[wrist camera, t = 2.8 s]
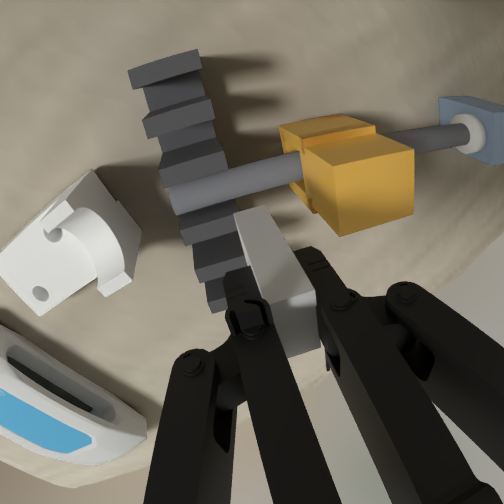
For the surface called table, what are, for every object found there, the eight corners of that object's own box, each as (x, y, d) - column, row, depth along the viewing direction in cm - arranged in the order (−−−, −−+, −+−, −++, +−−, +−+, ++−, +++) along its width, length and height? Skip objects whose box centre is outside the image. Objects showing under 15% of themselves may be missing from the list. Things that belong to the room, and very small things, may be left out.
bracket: (94, 165, 23) (65, 199, 16) (142, 229, 27) (132, 280, 20) (5, 244, 24) (-29, 291, 18) (49, 294, 28) (28, 347, 21)
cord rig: (204, 267, 30) (213, 322, 23) (142, 72, 20) (124, 70, 13) (466, 189, 31) (509, 217, 25) (463, 40, 21) (517, 46, 15)
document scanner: (80, 443, 44) (78, 471, 39) (-50, 364, 29) (-61, 393, 24) (149, 410, 41) (150, 447, 36) (-18, 300, 26) (-39, 338, 21)
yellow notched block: (289, 187, 24) (340, 244, 17) (278, 125, 22) (331, 156, 14) (346, 173, 25) (412, 221, 17) (340, 113, 22) (413, 140, 14)
